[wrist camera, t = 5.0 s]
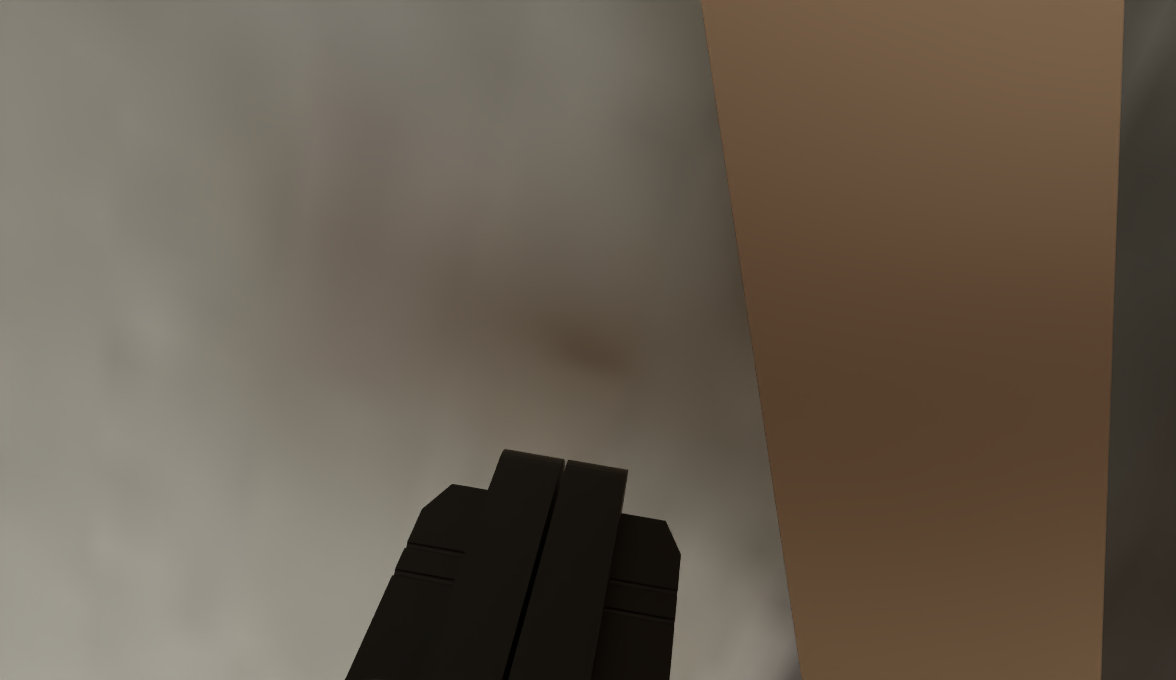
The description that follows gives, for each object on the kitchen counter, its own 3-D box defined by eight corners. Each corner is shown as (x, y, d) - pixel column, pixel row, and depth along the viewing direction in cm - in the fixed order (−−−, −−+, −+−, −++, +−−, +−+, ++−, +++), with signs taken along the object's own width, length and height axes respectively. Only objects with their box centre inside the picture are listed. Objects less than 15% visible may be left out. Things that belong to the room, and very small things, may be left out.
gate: (969, 629, 15) (1084, 1130, 9) (833, 634, 16) (866, 1113, 10) (908, -785, 8) (1197, -2027, 3) (665, -699, 9) (466, -1588, 3)
